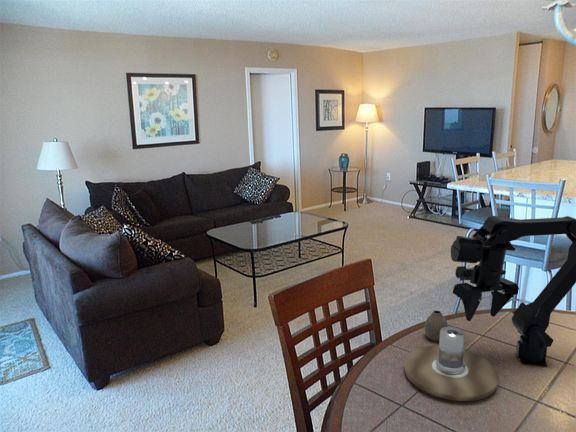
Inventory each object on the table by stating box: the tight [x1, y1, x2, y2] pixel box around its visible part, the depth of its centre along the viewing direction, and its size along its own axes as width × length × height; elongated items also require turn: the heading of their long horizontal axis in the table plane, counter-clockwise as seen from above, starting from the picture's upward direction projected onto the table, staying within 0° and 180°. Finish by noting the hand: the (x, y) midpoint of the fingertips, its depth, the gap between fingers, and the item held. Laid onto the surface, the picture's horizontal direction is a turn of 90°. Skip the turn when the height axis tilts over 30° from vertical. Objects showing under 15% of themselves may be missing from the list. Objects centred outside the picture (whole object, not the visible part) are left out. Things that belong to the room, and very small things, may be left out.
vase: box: [424, 309, 449, 342], centre depth 136 cm, size 7×7×9 cm
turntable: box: [404, 345, 499, 402], centre depth 117 cm, size 23×23×2 cm
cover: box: [436, 326, 466, 375], centre depth 116 cm, size 7×7×10 cm
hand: (480, 318), depth 121 cm, fingers open, 9 cm apart
